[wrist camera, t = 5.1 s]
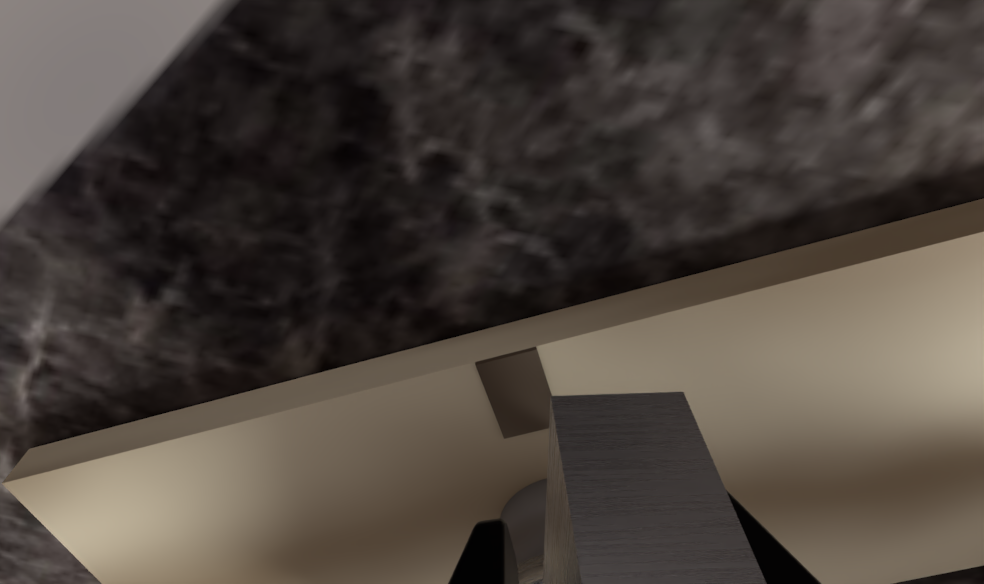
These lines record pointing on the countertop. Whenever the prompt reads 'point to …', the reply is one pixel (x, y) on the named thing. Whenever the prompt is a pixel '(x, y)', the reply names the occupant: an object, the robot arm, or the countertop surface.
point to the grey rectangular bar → (635, 498)
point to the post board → (526, 416)
